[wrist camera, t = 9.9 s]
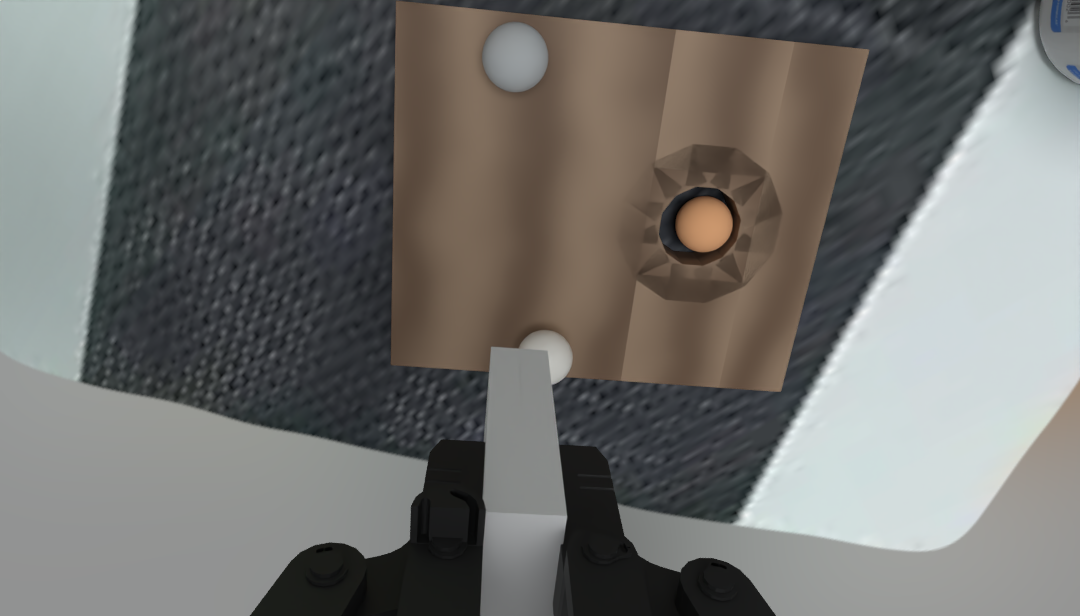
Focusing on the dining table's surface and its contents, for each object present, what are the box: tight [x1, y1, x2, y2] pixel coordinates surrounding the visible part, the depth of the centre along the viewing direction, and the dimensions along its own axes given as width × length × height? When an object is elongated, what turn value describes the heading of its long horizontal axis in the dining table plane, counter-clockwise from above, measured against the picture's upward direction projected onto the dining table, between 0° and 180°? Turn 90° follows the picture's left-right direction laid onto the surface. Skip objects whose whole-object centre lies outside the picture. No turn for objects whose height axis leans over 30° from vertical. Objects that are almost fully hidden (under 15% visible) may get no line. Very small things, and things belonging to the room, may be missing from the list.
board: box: [391, 1, 869, 392], centre depth 39 cm, size 24×20×2 cm
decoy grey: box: [482, 22, 548, 92], centre depth 33 cm, size 3×3×3 cm
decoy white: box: [519, 330, 573, 385], centre depth 40 cm, size 3×3×3 cm
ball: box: [675, 196, 733, 252], centre depth 39 cm, size 3×3×3 cm
